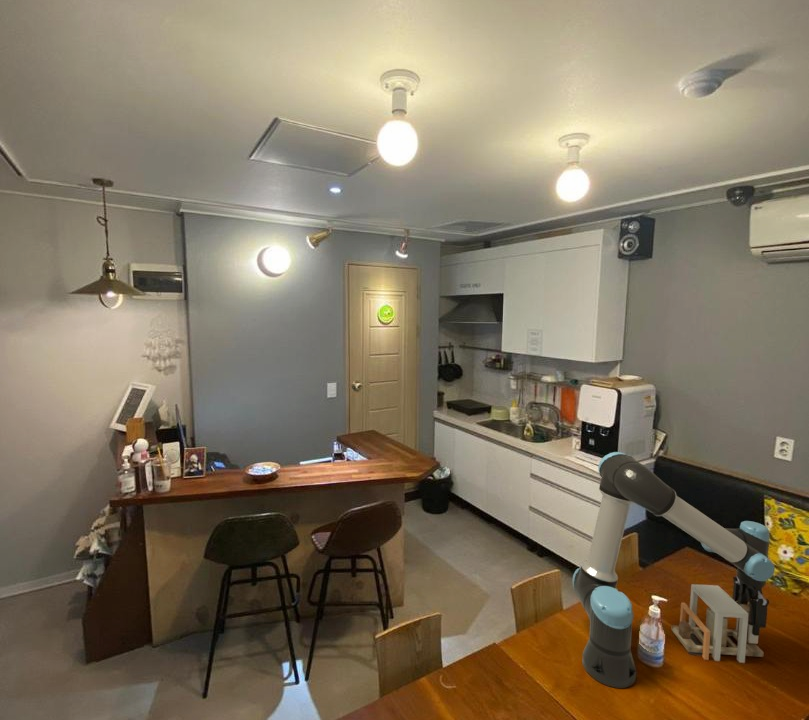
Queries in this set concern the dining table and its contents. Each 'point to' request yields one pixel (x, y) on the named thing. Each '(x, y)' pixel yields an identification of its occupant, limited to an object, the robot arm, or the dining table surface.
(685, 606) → the grey and orange stand
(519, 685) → the dining table surface
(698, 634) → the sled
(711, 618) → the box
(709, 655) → the pit mat
